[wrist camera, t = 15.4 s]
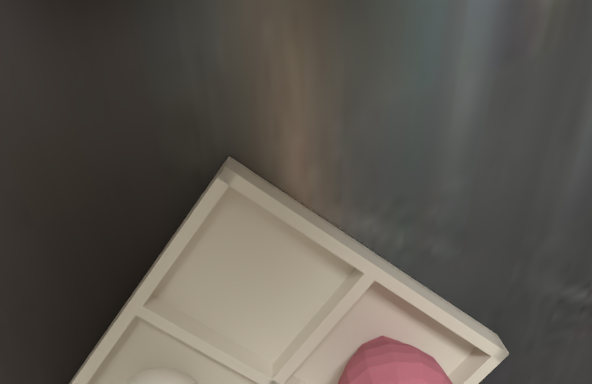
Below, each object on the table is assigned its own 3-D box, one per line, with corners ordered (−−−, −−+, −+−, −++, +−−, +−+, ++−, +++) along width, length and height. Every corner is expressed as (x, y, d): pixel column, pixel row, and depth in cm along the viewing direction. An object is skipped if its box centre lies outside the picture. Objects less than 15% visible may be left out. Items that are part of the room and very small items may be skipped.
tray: (60, 395, 44) (47, 417, 42) (229, 155, 37) (224, 166, 35) (307, 519, 50) (308, 544, 48) (497, 334, 43) (509, 354, 40)
